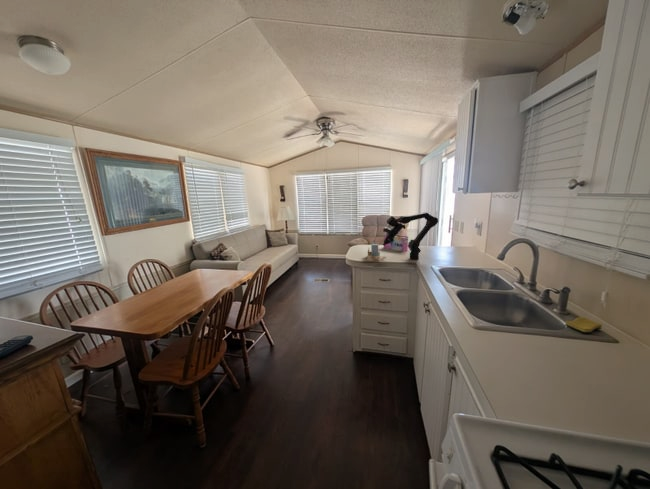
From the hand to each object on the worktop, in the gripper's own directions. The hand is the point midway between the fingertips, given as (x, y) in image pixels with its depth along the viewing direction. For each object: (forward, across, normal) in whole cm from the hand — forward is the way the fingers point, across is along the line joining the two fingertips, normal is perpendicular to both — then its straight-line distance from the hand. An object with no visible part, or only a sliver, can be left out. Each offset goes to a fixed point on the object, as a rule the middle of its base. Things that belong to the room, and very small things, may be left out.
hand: (383, 243), depth 203 cm
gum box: (+6, -36, +17) cm, 40 cm away
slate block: (+14, +3, +2) cm, 14 cm away
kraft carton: (+13, +3, +4) cm, 14 cm away
